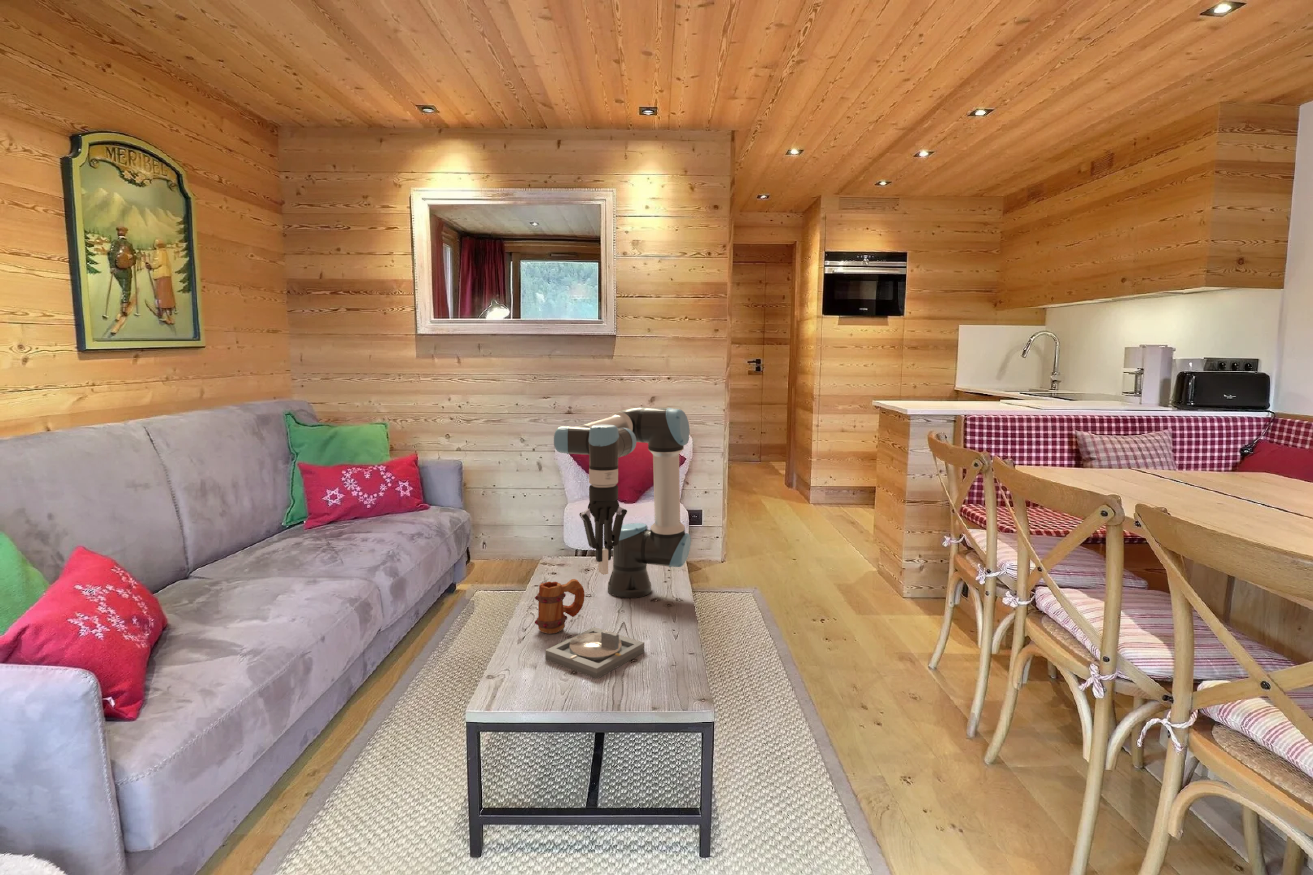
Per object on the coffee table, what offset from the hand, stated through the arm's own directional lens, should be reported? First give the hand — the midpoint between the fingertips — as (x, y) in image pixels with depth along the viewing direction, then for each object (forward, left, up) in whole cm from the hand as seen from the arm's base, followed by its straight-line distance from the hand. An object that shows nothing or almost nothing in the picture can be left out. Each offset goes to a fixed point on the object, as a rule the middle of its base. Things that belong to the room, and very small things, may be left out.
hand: (603, 572), depth 180 cm
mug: (-8, -23, -24) cm, 34 cm away
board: (-1, -3, -24) cm, 24 cm away
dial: (-1, -3, -22) cm, 23 cm away
